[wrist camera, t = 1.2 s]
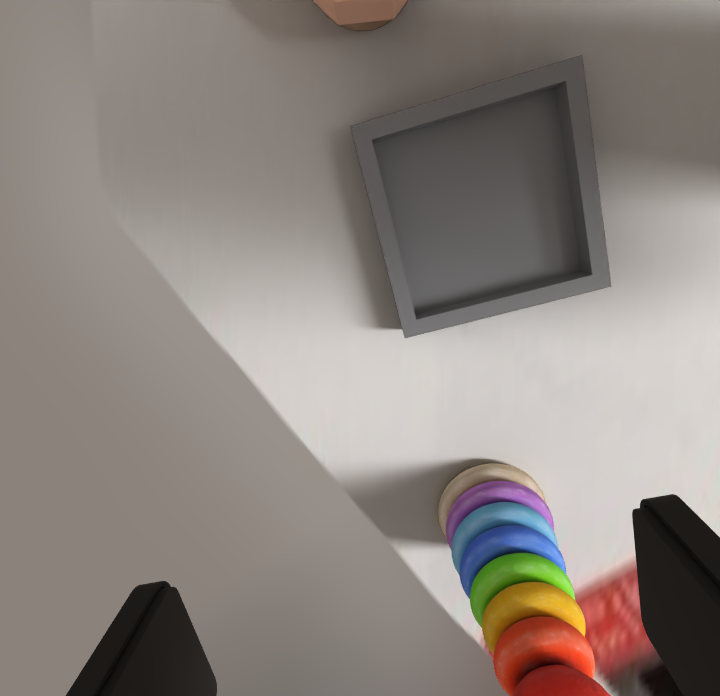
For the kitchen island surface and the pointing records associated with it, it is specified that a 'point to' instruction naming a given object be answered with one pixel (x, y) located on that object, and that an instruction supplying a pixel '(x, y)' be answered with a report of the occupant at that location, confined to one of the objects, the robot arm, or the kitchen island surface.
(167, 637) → the robot arm
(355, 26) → the rod
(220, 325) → the kitchen island surface
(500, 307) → the tray
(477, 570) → the stacking toy
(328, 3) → the ring
